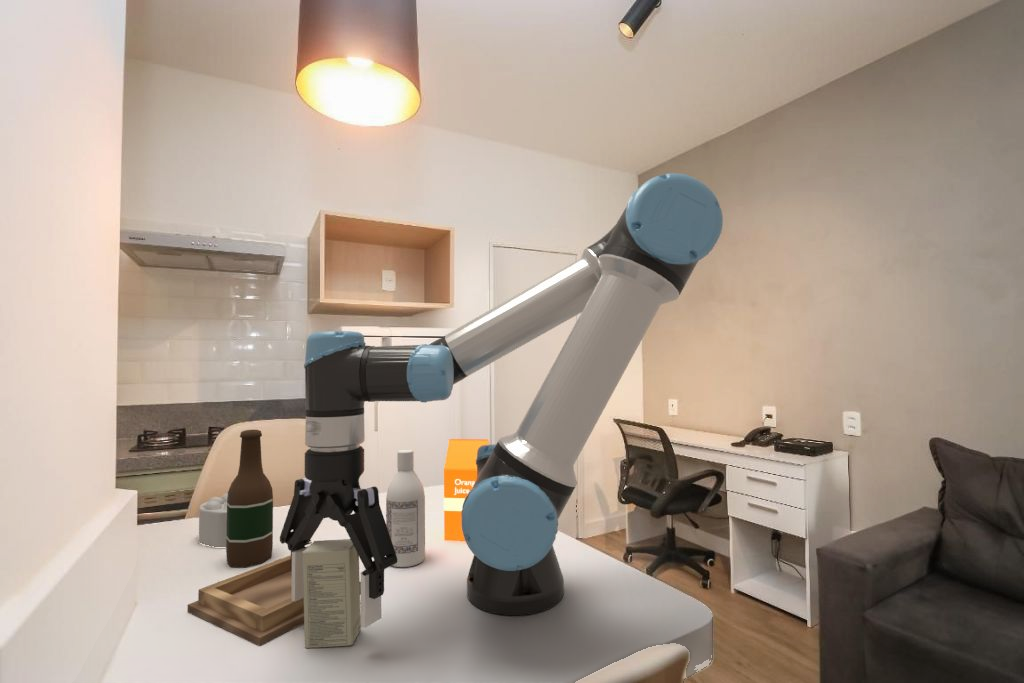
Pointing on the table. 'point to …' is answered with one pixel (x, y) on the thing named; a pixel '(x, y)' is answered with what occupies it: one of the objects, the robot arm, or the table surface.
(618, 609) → the table surface
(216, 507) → the lumpy-topped squat cylinder
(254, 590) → the wooden tray
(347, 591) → the skincare box
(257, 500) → the beer bottle
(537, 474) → the robot arm
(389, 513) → the bath foam
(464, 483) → the orange juice
